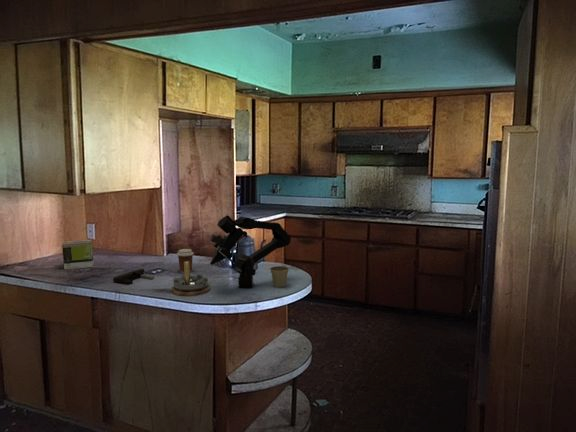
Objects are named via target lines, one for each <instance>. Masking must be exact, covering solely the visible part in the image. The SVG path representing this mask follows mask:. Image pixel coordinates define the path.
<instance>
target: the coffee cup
mask: <svg viewBox="0 0 576 432" xmlns="http://www.w3.org/2000/svg"><path fill="white" fill-rule="evenodd" d="M194 255H195V252H193V251H192V249H191V248H182V249H179V250H178V251H177V252H176V256H177V257H178V264H179V265H178V266H179V273H181V274H185V273H184V262H185V261H189V264H190V273H191V272H192V271H193V256H194Z"/></svg>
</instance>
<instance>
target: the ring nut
mask: <svg viewBox="0 0 576 432" xmlns="http://www.w3.org/2000/svg"><path fill="white" fill-rule="evenodd" d="M172 281H173V286H174V289H175V290H178V291H184V292H191V291H199V290H203V289H205V288H207V287H208V284H209V277H208V276H206V277H205V276H203V274H202V273H198V274H196V275H191V272H190V264H189V261H185V262H184V273H183V274H182V275H181V277H179V278H177V277H174V278H173V280H172Z"/></svg>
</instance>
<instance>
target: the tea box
mask: <svg viewBox="0 0 576 432" xmlns="http://www.w3.org/2000/svg"><path fill="white" fill-rule="evenodd" d="M61 248H62V260H63V267H64V268H63V269H64V270H72V269H75V270H77V269H83V268H84V269H85V268H93V267H94V263H95V262H94V261H95V260H94V251H93V240H92V239H82V240H70V241H69V240H68V241H67V240H66V241H63V243H62V244H61Z"/></svg>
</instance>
